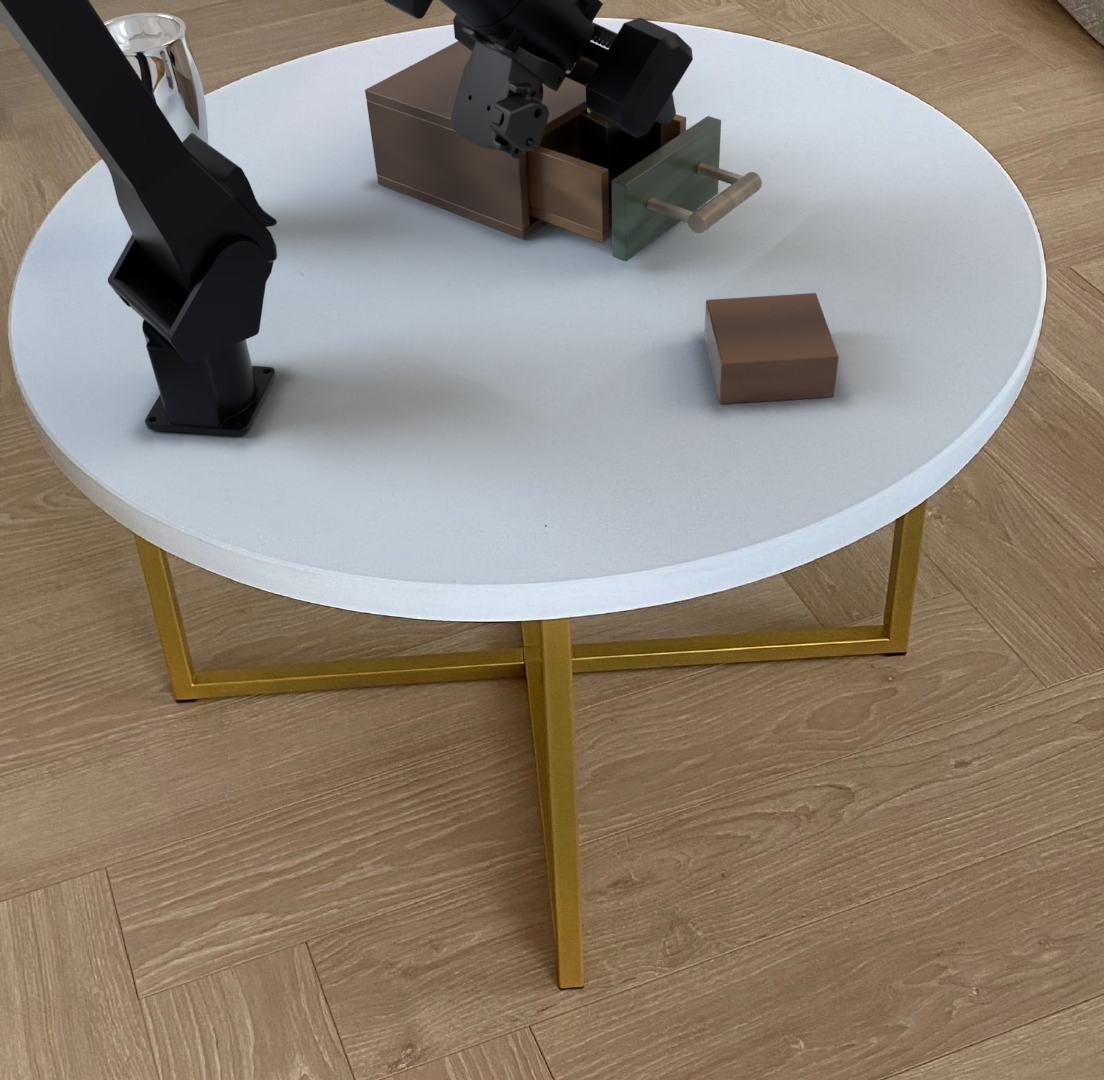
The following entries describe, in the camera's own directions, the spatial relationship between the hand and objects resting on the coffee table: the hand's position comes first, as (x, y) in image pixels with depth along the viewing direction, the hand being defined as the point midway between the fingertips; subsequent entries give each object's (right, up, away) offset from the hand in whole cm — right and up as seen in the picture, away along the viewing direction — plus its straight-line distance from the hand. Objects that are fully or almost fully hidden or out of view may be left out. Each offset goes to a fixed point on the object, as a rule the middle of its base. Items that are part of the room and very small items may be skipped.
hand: (635, 101), depth 94 cm
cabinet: (-10, -2, +11) cm, 15 cm away
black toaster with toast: (-1, -5, +4) cm, 7 cm away
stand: (+8, -19, -9) cm, 23 cm away
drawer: (-1, -6, +4) cm, 8 cm away
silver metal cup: (-33, -8, +7) cm, 34 cm away
